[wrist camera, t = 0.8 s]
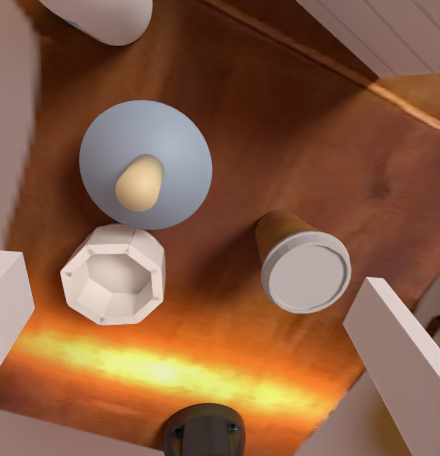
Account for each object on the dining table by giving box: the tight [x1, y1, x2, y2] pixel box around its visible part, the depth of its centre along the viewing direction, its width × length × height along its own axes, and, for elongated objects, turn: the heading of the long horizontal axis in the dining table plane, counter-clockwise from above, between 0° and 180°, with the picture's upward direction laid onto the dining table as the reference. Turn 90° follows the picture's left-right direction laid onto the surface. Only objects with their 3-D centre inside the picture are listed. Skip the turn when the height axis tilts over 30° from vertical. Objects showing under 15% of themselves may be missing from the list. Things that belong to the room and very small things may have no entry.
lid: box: [79, 100, 212, 230], centre depth 27 cm, size 13×13×8 cm
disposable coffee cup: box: [255, 210, 351, 313], centre depth 36 cm, size 10×10×12 cm
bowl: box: [60, 223, 166, 325], centre depth 38 cm, size 11×11×6 cm
